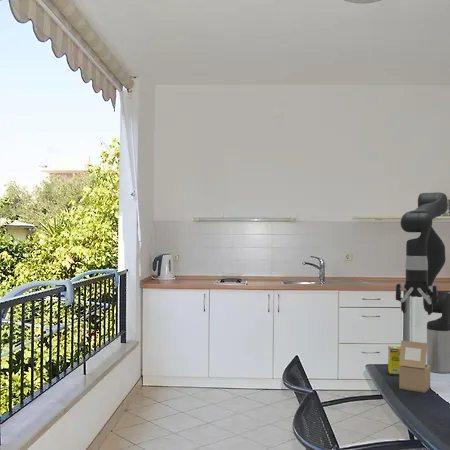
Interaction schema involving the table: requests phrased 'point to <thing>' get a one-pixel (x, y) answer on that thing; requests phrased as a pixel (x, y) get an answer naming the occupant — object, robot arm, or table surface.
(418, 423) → the table surface
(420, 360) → the flap
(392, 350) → the supplement box
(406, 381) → the carton
